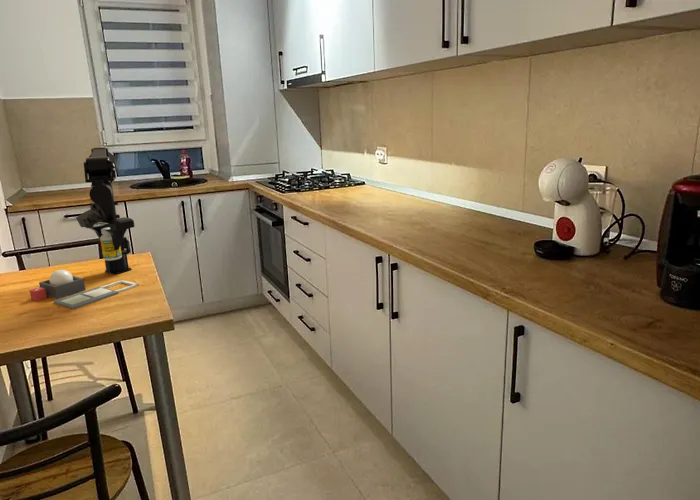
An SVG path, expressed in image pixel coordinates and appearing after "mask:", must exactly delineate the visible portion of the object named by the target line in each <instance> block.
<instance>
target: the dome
mask: <svg viewBox="0 0 700 500" xmlns="http://www.w3.org/2000/svg"><path fill="white" fill-rule="evenodd" d="M72 276H73V274H72V273H71V272H70V271H68V270H66V269H57V270H55V271H53V272H52V273H51V275H50V277H49V279H48V280H49V281H50V284H51V285H54V286H58V285H61V284H65V283H68V282H71V281H74V280H73V277H72Z"/></svg>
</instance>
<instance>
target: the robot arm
mask: <svg viewBox="0 0 700 500" xmlns="http://www.w3.org/2000/svg"><path fill="white" fill-rule="evenodd" d="M90 151H91V153H90V155H89V156H88V157H86V158H85V161H83V171H84V180H85V183H91V184H90V190H89V194H88V195H89V197H90V200H91V201H92V202H91V203H90V206H89V207H90V209H87V210H86V211H84V212H82V213H80V214H78V216H76V217H75V219H76V221H77V222H78V224H79V226H80V228H86V229H90V230H92V231H93V232H94V233H95V234H96V236H97V237H98V239H99V247H100V250H101V251H100V252H101V255H102V258H103V253H102V247H101V241H100V237H101V236H102V235H103V234H102V233H101V229H103V228H108V227H110V229H109V230H106V231H107V232H108V233H110V234H111V237H112V241H113V245H114V248H115V250H119V248H120V246H121V253H122V257H121V258H120V259H117V260H104V264H105V270H104V272H105V273H109V274H112V275H119V274H122V273H124V272H128V271H130V270H131V271H132V267H129V261H128V255H129V254H131V245H130V240H128V238H127V237H126V236H125V234H126V232H127V230H129V229H132V228H135V222H134V219H132V218H131V217H125V216H124V217H121V216H120V214H117V209H116V208H117V207H116V206H118V205H119V203H118V201H116V200H115V196H114V195H115V194H114V187H113V184H114V182H115V181H116V178H117V174H116V172H118V166H117V165H118V164H117V160H116V156H115V155H114V154H112V152H110V151H109V148H108V147H105V146H104V147H93V148H91V149H90Z"/></svg>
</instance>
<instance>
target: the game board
mask: <svg viewBox="0 0 700 500" xmlns="http://www.w3.org/2000/svg"><path fill="white" fill-rule="evenodd" d="M119 284H125V285H128V286H125V287H122V288H119V289H117V290H114V289H109V288H110V287H113V286H116V285H119ZM139 286H140V284H139V283H136V282H133V281H129V280H124V279H121V280H117V281H114V282H112V283H111V282H110V283H109V284H106V285H105V284H104V285H102V286H97V287H94V288H91V289H87V290H84V291H81V292H78V293H75V294H71V295H68V296H65V297H62V298H59V299H56V300H53V304H55V305H58V306H61V307H65V308H69V309H71V310H75V309H78V308H80V307H84V306H87V305H89V304H92V303H95V302H98V301H101V300H103V299H107V298H110V297H113V296H116V295H118V294H119V293H121V292H125V291H127V290H130V289H134V288H136V287H139Z"/></svg>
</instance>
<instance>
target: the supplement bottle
mask: <svg viewBox="0 0 700 500" xmlns="http://www.w3.org/2000/svg"><path fill="white" fill-rule="evenodd" d="M109 229H110V227H108V228H103V229H101V233H102V234H103V235H102V236H101V237H100V239H99V242H100V241H101V247H102V252H101V254H102V253H103V257H102V258H103V260H104V261H105V260H117V259H120V258H121V257H122V253H121V246H120V248H119V250H115V248H114V245H113V241H112V237H111V234H110V233H108V232H107V231H106V230H109ZM101 247H100V248H101Z"/></svg>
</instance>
